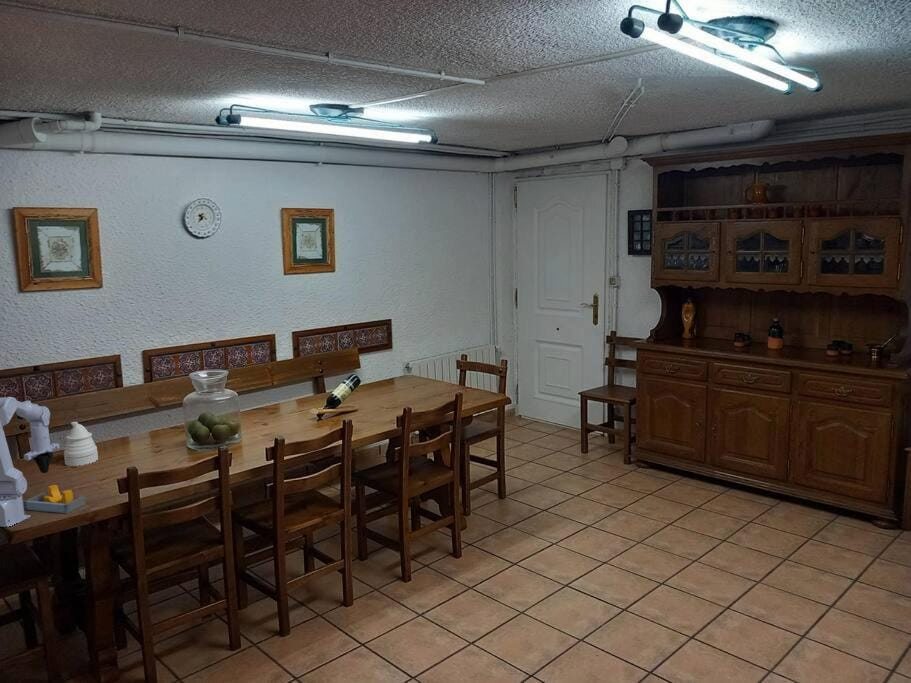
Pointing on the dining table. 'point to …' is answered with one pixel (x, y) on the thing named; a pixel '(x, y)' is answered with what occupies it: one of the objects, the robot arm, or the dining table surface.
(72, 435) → the honey pot
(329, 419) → the dining table surface
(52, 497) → the pipe clamp
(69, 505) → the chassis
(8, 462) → the robot arm
